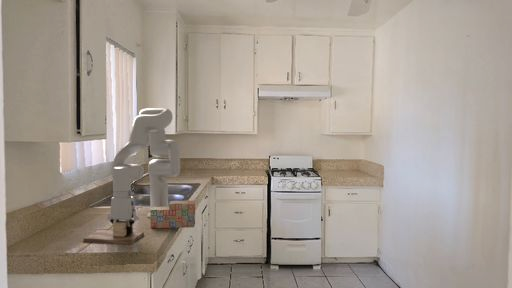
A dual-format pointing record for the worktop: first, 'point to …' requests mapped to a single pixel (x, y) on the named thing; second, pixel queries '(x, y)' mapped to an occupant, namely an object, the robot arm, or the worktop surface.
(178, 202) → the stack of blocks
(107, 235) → the board
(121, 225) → the block
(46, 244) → the worktop surface
